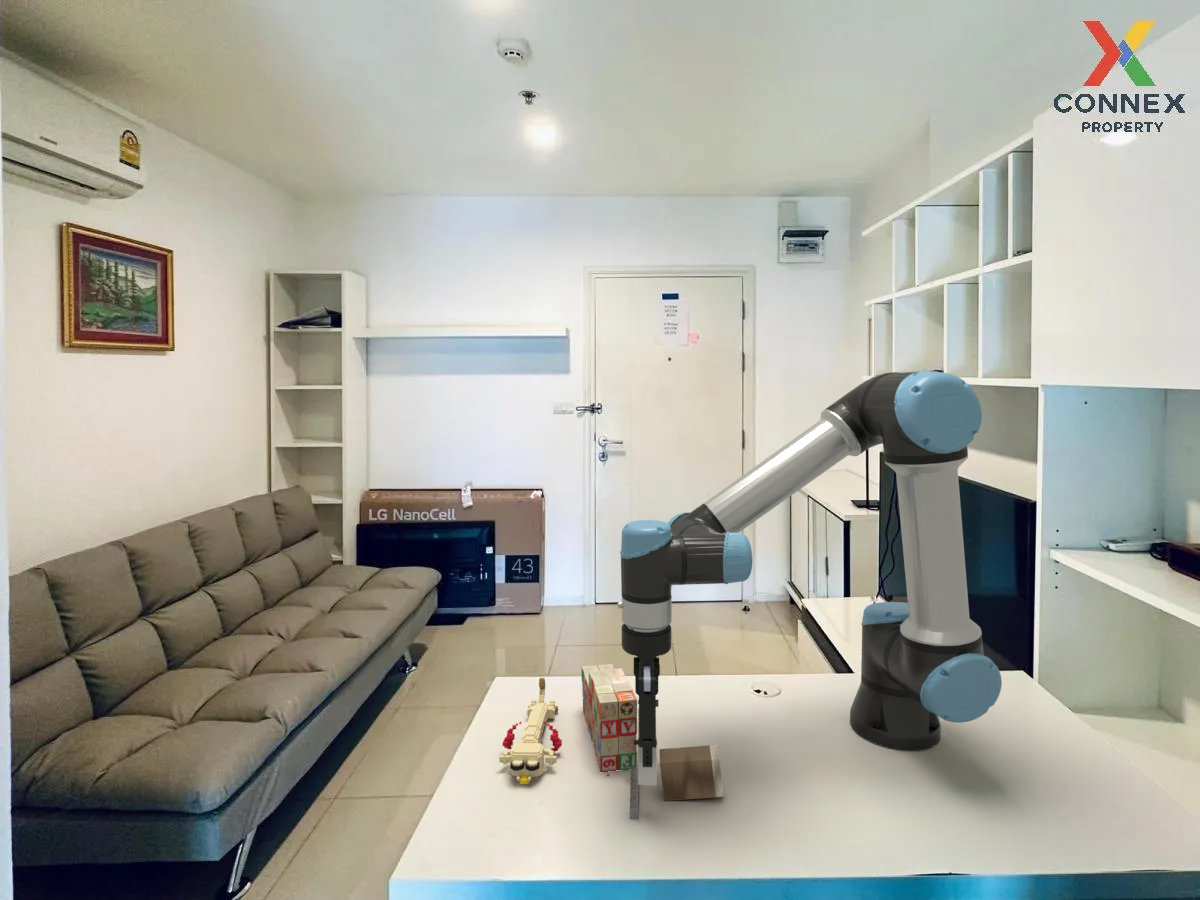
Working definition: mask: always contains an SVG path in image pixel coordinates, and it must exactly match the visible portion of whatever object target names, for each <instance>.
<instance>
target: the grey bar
mask: <svg viewBox="0 0 1200 900" xmlns="http://www.w3.org/2000/svg"><path fill="white" fill-rule="evenodd" d="M629 777H630V780H629V783H630V784H629V819H630V820H638V819H639V785H638V765H637V766H631V770H630V776H629Z"/></svg>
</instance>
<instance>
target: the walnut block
mask: <svg viewBox="0 0 1200 900" xmlns="http://www.w3.org/2000/svg"><path fill="white" fill-rule="evenodd" d="M718 747H719V746H718V744H709V745H708V744H707V745H695V746H683V747H670V748H659V751H658V752H659V753H658V754H659V770H660V779H661V785H662V793H663V801H666V802H667V801H681V800H694V799H695V800H696V799H708V798H709V799H711V798H721V797H723V798H724V797H725V796H724V794H725V793H724V786H723V778H722V769H721V768H722V767H721V759H720V755H719V750H718V749H719V748H718Z"/></svg>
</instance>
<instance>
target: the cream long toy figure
mask: <svg viewBox="0 0 1200 900" xmlns="http://www.w3.org/2000/svg"><path fill="white" fill-rule="evenodd" d="M538 687H539V694H538V701H537V699H531V700H530V705H528V706H527V708H528V709H527V710H526V711H527V717H528V719H527V722H526V725H525V727H524V732H523V735H522V738H521V742H517V743H514V740H515V738H516V737H515V733H513V732H514V730H516V729H517V727H518V725H522V721H519V722H517V723H515V724H512V728H508V729H507V731H506V736H505V737H504V738H503V741H502V747H504V749H505V750H504V751H503V754H501V755H499V756H498V757H499V759H498V763H502V765H508V764H509V766H508V769H507V771H508V772H509V773H510V774H511V776H513V777H516V781H519V784H521V785H527V784H530V783H531V782H530V781H532V779H533V778H535V777H537V778H538V777H539V776H541V775H543V773H545V772H547V771H548V767H549V766H553V765H554V764H557V759H558V756H557V755H554V754H555V752H557V751H559V749H560V748H561V747H562V746H563V745H562V743H563V742H562V741H563V740H562V739H561V737H559V730H557V728H554V725H552V724H551V725H550V723H547V722H548V719H554V717H556V713H557V714H558V713H559V706H557V705H556V699H550V700H549V703H547V701H545V696H546V679H545V677H539V680H538ZM546 724H547V727H548V730H550V731H552V733H551V734H550V738H549V741H550V742H552V747H551V749H549V748H545V746H544V745H543V744H542V743H541V741H542V736H543V733H544V729H545V725H546ZM545 764H548V765H549V766H548V765H545Z"/></svg>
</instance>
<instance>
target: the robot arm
mask: <svg viewBox="0 0 1200 900" xmlns="http://www.w3.org/2000/svg"><path fill="white" fill-rule="evenodd" d="M982 411H983V410H982V405H981V402H980V399H979V397H978V395H977V394H976V392H975V390H974V388H972V387H971V385H970V384H969V383H967V382H966V381H964V379H962V378H961V377H959V376H957V375H954V374H951V373H948V372H942V371H941V372H940V371H936V370H920V371H904V372H903V371H902V372H885V373H882V374H878V375H874V376H872V377H871V378H869V379H867V380H865V381H863V382H862V383H861V384H859V385H858V386H856V387H855V388H853V389H851V390H850V391H849V392H847V393H845V394H844V395H843V396H841V398H838V399H837V400H836V401H835V402H833V403H832V404H830V405H829V406H828V407H827V408H826V407H825V409H824V410H822V411H821V413H820V420H818V421H817V422H816V423H814V424H813V425H812V426H809V427H808V428H807V429H806V430H805V431H803V432H801V433H800V434H799V435H797V436H796V437H795V438H793V439H792V440H791V441H789V442H787V444H786V443H785V445H783V446H782V447H781V448H779V449H778V450H776V451H775V452H774V453H772V454H771V455H769V456H768V457H767V458H765V459H763V461H761V462H760V463H758V464H757V465H756V466H754V467H752V468H751V469H750V470H749V471H747V472H746V473H744V474H743V475H742V476H740V477H739V478H737V479H735V480H734V481H733V482H732V483H730V484H729V485H727V486H726V487H725V488H723V489H722V490H721V491H719V492H717V493H716V494H715V495H714V496H712V497H711V498H709V499H708V500H707V501H705V502H704V503H702V504H700V505H699V506H698V507H696V508H695V509H693V510H692V511H690V512H681V513H678V514H675V515H674V516H673V517H672V518H670V519H669V521H668V522H665V521H661V520H652V519H642V520H639V519H638V520H633V521H631V522H628V523H626V524H625V525H624V526H623V528H622V531H621V543H620V544H621V545H620V551H619V554H620V582H621V588H620V589H621V590H620V591H621V601H618V602H617V604H616V605H617V608H618V609H621V622H622V623H623V624H622V625H621V647H622V650H623V651H624V652H626V653H627V654H628V655H631V656H634V657H633V675H634V677H635V679H634V680H635V683H634V687H635V690H634V691H635V694H636V695H637V696H638V700H637V705H638V707H637V736H638V737H637V740H634V745H636V746H637V766H638V786H658V785H657V784H658V783H657V782H658V781H657V777H658V776H657V773H658V770H657V766H658V765H657V760H658V759H657V757H658V756H657V749H658V747H657V745H658V741H657V740H658V739H657V710H656V708H657V707H659V699H657V697H656V696H657V695H658V694H659V676H660V674H661V667H660V666H661V664H660V657H659V656H663V655H666V654H668V653H669V651H671V649H672V625H670V624H671V623H672V620H673V617H672V616H673V614H672V613H673V612H672V607H673V606H672V605H673V604H672V599H673V598H672V588H673V587H672V586H683V585H685V586H686V585H712V584H713V585H715V584H716V585H717V584H718V585H719V584H724V585H728V584H735V583H741V582H742V583H743V582H745V581H747V580H748V579H749V578H750V576H751V574H752V571H753V569H752V568H753V552H752V546H751V543H750V540H749V538H748V536H746V535H745V534H744V533H741V532H742V531H743V530H744V529H746V528H747V527H749V526H750V525H752V524H753V523H755V522H756V521H758V520H759V519H760V518H762V517H763V516H764V515H766V514H767V513H769V512H770V511H772V510H773V509H774V508H776V507H777V506H779V505H780V504H781V503H783V502H784V501H786V500H787V499H789V498H790V497H791V496H792V495H795V494H796V493H797V492H798V491H800V490H801V489H803V488H804V487H806V486H807V485H808V484H810V483H812V481H814V480H816V479H817V478H818V477H820V476H821V475H822V474H824V473H825V472H827V471H828V470H830V469H831V468H832V467H834V466H835V465H837V464H838V463H839V462H841V461H842V460H844V459H845V458H846V457H848V456H851V457H858V456H860V455H861V454H863V453H864V452H865V451H866V450H869V449H871V448H873V447H875V446H878V445H882V447H883V448H882V449H883V450H882V451H883V458H884V463H885V465H887V467H889V468H890V469H892V470H893V472H894V473H895V474H896V486H897V498H898V499H897V500H898V506H899V507H898V508H899V517H900V519H899V520H900V530H901V540H902V541H901V542H902V553H903V554H902V555H903V562H904V564H903V566H904V574H905V586H906V596H907V602H902V601H901V602H900V601H897V602H896V601H884V602H875V603H872V604H871V603H870V604H869V605H866V607H865V608H864V609H863V615H862V622H861V660H860V661H861V663H860V665H861V666H860V667H861V669H860V673H861V676H860V683H859V684H860V685H859V687H858V689H857V692H856V693H855V697H854V699H853V700H852V704H851V706H850V709H849V725H850V727H851V729H852V730H853V731H854V732H855V733H856V734H857V735H859V736H860V737H862V739H864V740H867V741H869V742H871V743H873V744H876V745H878V746H882V747H886V748H888V749H889V748H890V749H893V750H899V751H925V750H927V749H930V748H934V747H935V746H937V745H939V742H940V741H941V736H942V735H941V732H942V727H941V721H940V719H942V720H944V721H947V722H950V723H954V724H956V723H957V724H958V723H960V724H961V723H966V722H971V721H975V720H977V719H979V718H981V717H982V716H983V715H985V714H987V713H988V710H989V709H990V708H991V707H993V706H994V705H995V704H996V702H997V701H998V699H999V697H1000V694H1001V690H1002V687H1003V686H1002V684H1003V683H1002V675H1001V672H1000V669H999V667H998V666H997V665H996V664H995V662H993V660H992V659H991V658H989V657H988V656H985V654H984V645H983V633H982V629H981V627H980V626H979V625H978V624H977V623H976V622H974V621H973V620H972V619H971V618H970V607H969V596H968V595H969V593H968V584H967V582H968V581H967V570H966V560H965V559H966V556H965V546H964V533H963V532H964V531H963V520H962V518H963V517H962V507H961V506H962V505H961V494H960V483H959V482H960V481H959V480H960V479H959V471H958V470H959V468H960V467H961V466H962V464H963V463H964V462H965V461H967V460H968V459H969V454H968V453H969V451H968V446H969V444H971V443H972V442H973V441H974V439H975V437H974V436H975V435H976V434H977V433H979V431H980V428H981V425H982V417H983V413H982ZM939 718H940V719H939Z"/></svg>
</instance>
